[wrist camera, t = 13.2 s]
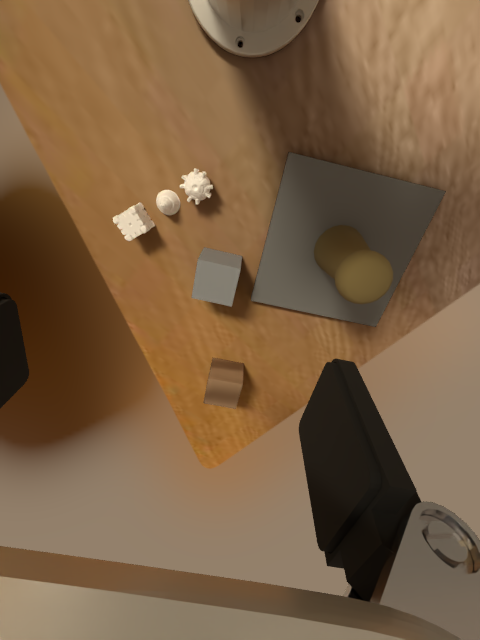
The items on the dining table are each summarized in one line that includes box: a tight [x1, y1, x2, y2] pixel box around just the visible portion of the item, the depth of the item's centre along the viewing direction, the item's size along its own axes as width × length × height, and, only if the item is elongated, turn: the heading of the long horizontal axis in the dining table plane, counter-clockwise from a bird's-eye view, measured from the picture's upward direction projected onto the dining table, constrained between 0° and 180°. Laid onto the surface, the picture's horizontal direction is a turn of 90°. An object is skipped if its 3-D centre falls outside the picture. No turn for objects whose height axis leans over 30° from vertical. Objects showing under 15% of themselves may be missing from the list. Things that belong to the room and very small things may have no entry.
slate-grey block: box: [192, 247, 242, 307], centre depth 37 cm, size 5×5×5 cm
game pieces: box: [113, 169, 213, 241], centre depth 34 cm, size 12×3×3 cm, turn 117°
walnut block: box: [204, 358, 244, 409], centre depth 46 cm, size 5×5×5 cm
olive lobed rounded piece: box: [314, 225, 393, 304], centre depth 32 cm, size 6×6×11 cm
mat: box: [251, 152, 446, 327], centre depth 37 cm, size 18×18×1 cm
